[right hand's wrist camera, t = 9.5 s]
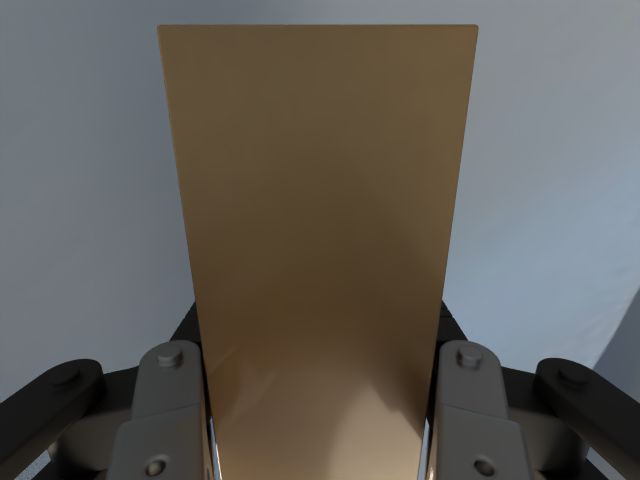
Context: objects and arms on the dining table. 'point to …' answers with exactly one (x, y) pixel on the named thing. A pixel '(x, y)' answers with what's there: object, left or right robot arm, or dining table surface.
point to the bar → (318, 234)
